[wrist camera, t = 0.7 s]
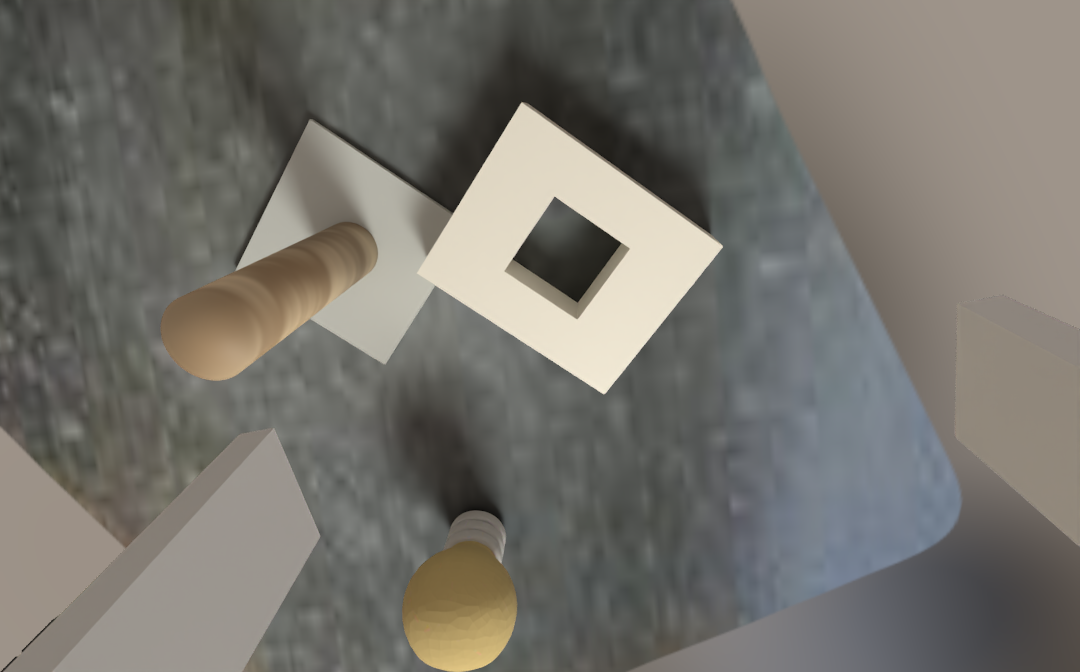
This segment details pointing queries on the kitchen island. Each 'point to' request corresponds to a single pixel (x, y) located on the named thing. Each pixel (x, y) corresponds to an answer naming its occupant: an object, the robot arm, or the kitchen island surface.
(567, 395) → the kitchen island surface
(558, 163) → the hole block
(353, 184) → the mat
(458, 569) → the light bulb
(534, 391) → the kitchen island surface
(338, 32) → the kitchen island surface
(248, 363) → the dowel
